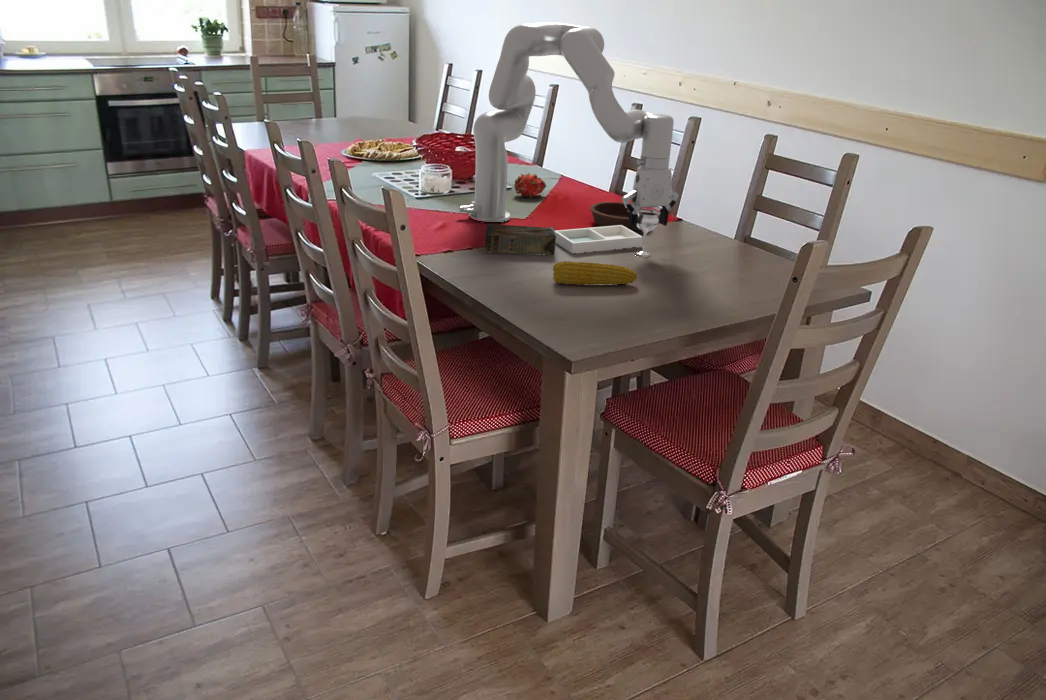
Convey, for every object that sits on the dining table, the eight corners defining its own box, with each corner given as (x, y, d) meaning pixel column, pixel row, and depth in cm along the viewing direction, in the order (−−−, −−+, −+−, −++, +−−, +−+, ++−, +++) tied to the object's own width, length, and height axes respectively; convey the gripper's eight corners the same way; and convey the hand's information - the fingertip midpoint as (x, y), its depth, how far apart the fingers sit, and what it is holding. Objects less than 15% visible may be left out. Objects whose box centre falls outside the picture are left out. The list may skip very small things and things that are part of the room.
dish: (619, 239, 242) (621, 222, 240) (573, 218, 258) (574, 203, 256) (663, 231, 251) (665, 215, 249) (616, 212, 268) (617, 197, 265)
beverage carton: (555, 257, 224) (557, 233, 221) (484, 254, 223) (485, 231, 220) (552, 247, 231) (554, 224, 229) (483, 245, 230) (484, 222, 227)
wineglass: (627, 255, 228) (632, 213, 223) (634, 248, 234) (638, 207, 228) (651, 259, 226) (657, 217, 221) (657, 253, 231) (663, 211, 226)
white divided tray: (572, 253, 227) (572, 243, 225) (553, 240, 236) (553, 230, 235) (641, 246, 236) (642, 236, 234) (620, 234, 245) (621, 224, 244)
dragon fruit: (509, 201, 277) (541, 204, 283) (520, 192, 270) (553, 195, 275) (507, 177, 279) (539, 181, 284) (518, 167, 271) (551, 171, 277)
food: (554, 288, 203) (555, 265, 200) (550, 280, 208) (552, 257, 205) (637, 289, 205) (640, 266, 203) (632, 281, 210) (635, 258, 208)
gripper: (634, 167, 212) (627, 232, 219) (689, 164, 219) (682, 227, 226) (619, 161, 218) (613, 224, 226) (673, 158, 225) (666, 219, 232)
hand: (647, 225), depth 226 cm, fingers open, 9 cm apart
